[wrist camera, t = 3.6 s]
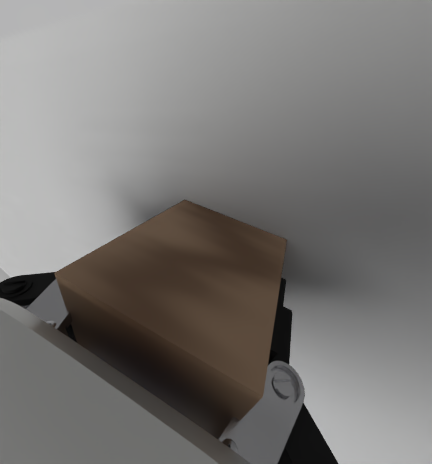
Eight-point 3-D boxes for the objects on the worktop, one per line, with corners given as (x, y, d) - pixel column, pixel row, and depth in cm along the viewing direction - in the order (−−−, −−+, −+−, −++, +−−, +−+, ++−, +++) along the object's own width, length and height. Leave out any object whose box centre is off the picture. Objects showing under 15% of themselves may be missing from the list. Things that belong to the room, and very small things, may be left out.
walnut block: (286, 239, 10) (263, 396, 4) (250, 310, 13) (206, 455, 7) (185, 199, 11) (54, 273, 5) (174, 273, 14) (85, 369, 8)
